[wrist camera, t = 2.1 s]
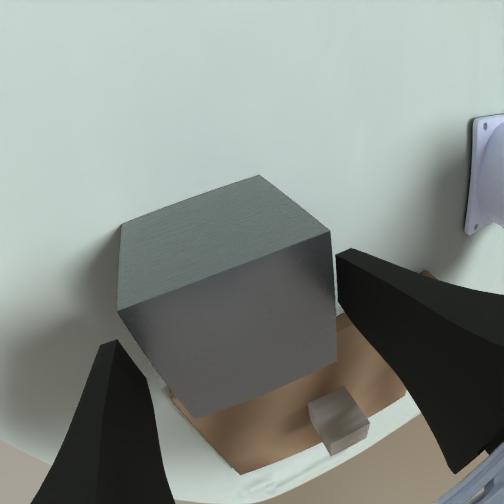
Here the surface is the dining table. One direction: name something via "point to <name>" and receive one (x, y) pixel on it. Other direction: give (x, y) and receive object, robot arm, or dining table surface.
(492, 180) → the robot arm
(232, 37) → the dining table surface
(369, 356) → the post board
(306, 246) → the square cap
